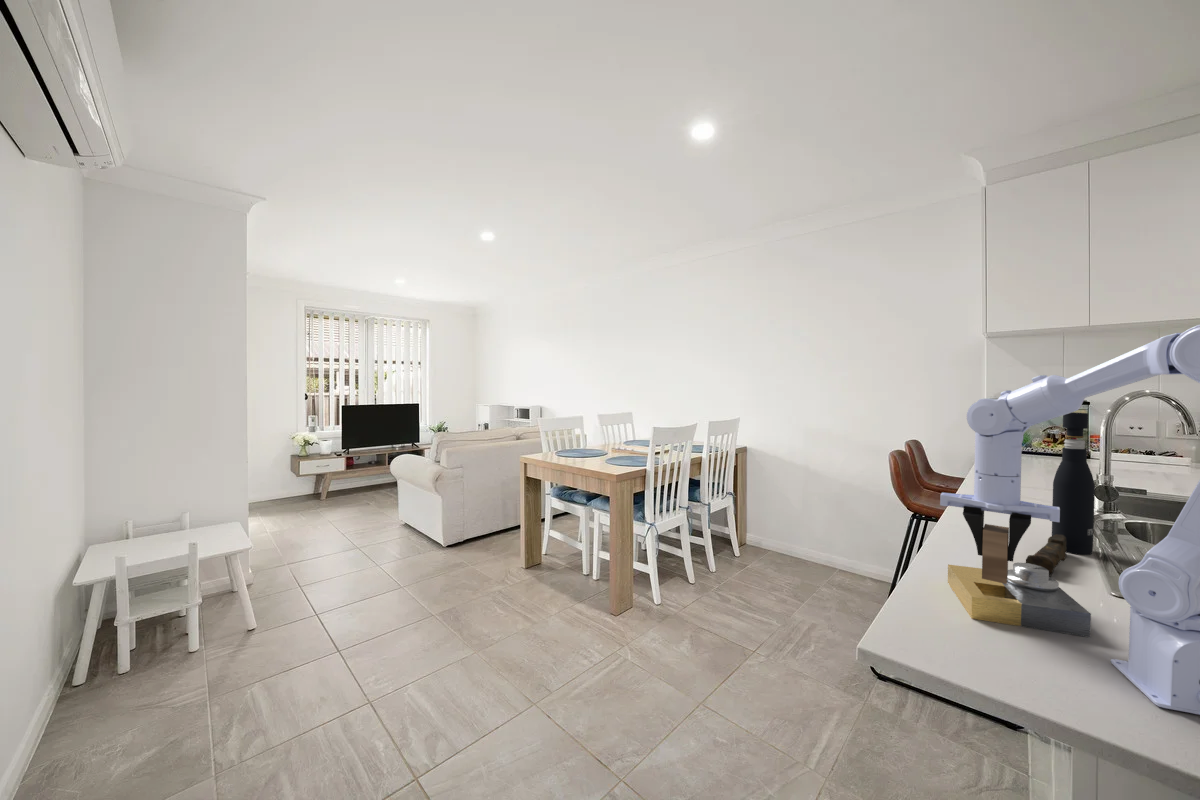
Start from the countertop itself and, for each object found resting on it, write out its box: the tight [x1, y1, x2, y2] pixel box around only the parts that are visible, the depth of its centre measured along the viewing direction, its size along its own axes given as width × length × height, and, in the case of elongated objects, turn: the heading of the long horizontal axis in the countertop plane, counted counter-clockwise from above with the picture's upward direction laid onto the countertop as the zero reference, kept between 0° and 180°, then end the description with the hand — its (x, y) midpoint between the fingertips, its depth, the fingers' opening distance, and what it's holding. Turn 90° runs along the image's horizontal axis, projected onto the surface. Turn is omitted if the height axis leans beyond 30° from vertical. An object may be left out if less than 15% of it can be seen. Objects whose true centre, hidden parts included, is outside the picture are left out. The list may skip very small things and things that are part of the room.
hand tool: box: [1025, 534, 1067, 577], centre depth 95 cm, size 19×4×5 cm, turn 123°
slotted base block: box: [947, 562, 1092, 638], centre depth 77 cm, size 14×14×6 cm
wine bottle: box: [1051, 411, 1096, 556], centre depth 102 cm, size 6×6×30 cm
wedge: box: [981, 523, 1009, 584], centre depth 75 cm, size 4×3×8 cm
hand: (995, 556), depth 76 cm, fingers closed on wedge, 3 cm apart
